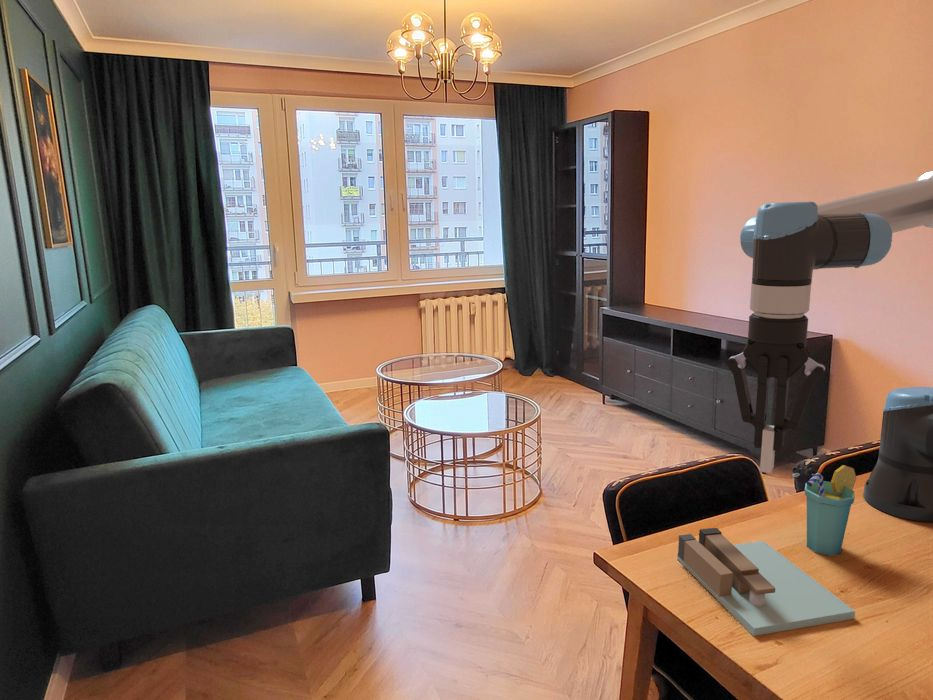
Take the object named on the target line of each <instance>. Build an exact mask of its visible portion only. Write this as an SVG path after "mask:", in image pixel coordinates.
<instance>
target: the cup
mask: <svg viewBox="0 0 933 700" xmlns="http://www.w3.org/2000/svg"><path fill="white" fill-rule="evenodd" d="M856 481H857V475H856V472H855V468H853V467H851V466H847V465H844V464H842V465H841V466H840V467H838V468H837V469H836V470H834V472H833V475H832V478H831V480H830V481H827V480H824V476H823V475H822V474H821V473H820V472H816V473H815V474H814V475H813V476H812V477H810V479H809V480H808V481H806V482H805V484H804V485H805V486H804V495H805V496H806V548H808V549H810V550H811V551H812V552H814V553H815V554H819V555H820V554H821V555H824V556H830V557H831V556H835V555H841V551H842V547H843V544H844V543H843V542H844V539H845V533H846V528H847V525H848V520H849V516H850V511H851V508H852V505H853V504H854V501H855V490H854V486H855V484H856Z"/></svg>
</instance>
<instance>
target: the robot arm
mask: <svg viewBox="0 0 933 700" xmlns="http://www.w3.org/2000/svg"><path fill="white" fill-rule="evenodd" d="M922 226H923V227H926V228H931V229H933V170H931V171H928V172H925V173H924V174H922V175H920V176H919V177H917V178H916V179H915V180H914V181H912V182H908V183H907V182H906V183H904V184H900V185H895V186H890V187H888V188H883V189H882V188H881V189H879V190H875V191H871V192H866V193H862V194H859V195H853V196H849V197H844V198H841V199H837V200H832V201H828V202H824V203H819V204H817V203H816V202H814V201H792V202H791V201H790V202H789V201H788V202H787V201H785V202H766V203H765V202H764V204H762V205H760V206H759V208H758V209H757V213H756V215H755V216H752V217H751V218H749V219H748V220H747V221H746V222H745V223H744V225H743V227H742V229H741V231H740V234H739V235H740V236H739V239H740V241H739V242H740V247H741V249H742V252H743V253H744V254H745V255H746V256H747V257H749V258H751V259H752V272H751V273H752V276H751V284H750V301H749V302H750V303H749V310H751V311H752V312H753V313H751V314H750V315H749V316H748V330H747V331H748V332H747V343H746V345H745V347H744V348H743V350H742V352H741V353H739V354H736V355H731V356H730V357H729V358H728V359H727V360H726V366H727V367H728V368H729V370H730V371H731V373H732V375H733V380H734V386H735V391H736V396H737V399H738V405H739V409H740V416H741V419H742V420H741V421H742V422H744V423H749V424H751V425H752V426H753V427H754V435H753V436H754V437H753V446H754V448H756V449H761V451H760V462H759V463H760V465H759V472H761V473H765V474H772V471H773V469H774V465H775V456H776V455H775V453H776V452H781V451H782V450H783V447H784V444H785V434H786V433H785V431H787V430H796V429H798V427H799V424H800V422H801V419H802V416H803V415H804V411H805V408H806V406H807V403H808V401H809V398H810V395H811V392H812V390H813V388H814V386H815V383H816V382H817V381H818V380H819V379H820V378H821V376H823V374H824V373H825V370H826V366H825V364H824V363H821V362H820V363H819V362H817V361H815V360H814V359H813V358H811V357H810V351H809V349H808V348H807V339H808V338H807V337H808V328H809V327H808V325H809V318H808V317H807V315H805V314H807V313H808V312H809V311H810V303H811V290H812V283H813V273H814V271H815V270H820V269H842V268H844V269H845V268H855V269H858V268H860V267H867V266H872V265H876V264H878V263H880V262H881V261H882V260H883V259H884V258H885V257H886V256H887V255H888V253H889V252H890V249H891V248H892V241H893V234H894V233H898V232H902V231H906V230H910V229H914V228H918V227H922ZM746 360H747V362H748V364H749V365H750V366H751V368H752V369H753V371H754V373H755V374H756V375H757V380H756V381H757V388H756V389H757V391H756V404H755V413H754V410H753V409H754V408H753V403H752V399H751V393H750V388H749V383H748V378H747V375H746V374H747V373H746V370H745V367H746V366H747V362H746ZM803 366H805V369H804V374H805V375H806V378H805V379H804V382H803V384H802V386H801V387H802V388H801V390H800V393H799V395H798V398H797V401H796V402H795V406H794V409H793V411H792V413H791V415H790V417H788V418H787V411H788V410H787V409H788V401H789V400H788V396H789V387H790V378H791V377H793V376H794V375H795V374H796V373H797V372H798V371H799V370H800V368H802V367H803ZM771 378H775V379H776V398H775V411H774V413H775V414H774V425H771V424H766V423H767V421H768V419H767V418H768V404H769V403H768V402H769V393H770V391H769V389H770V381H771V380H770V379H771ZM882 409H883V410H882V412H883V413H882V420H881V421H882V422H881V429H880V438H879V439H880V441H879V451H878V457H877V458H878V459H877V461H876V463H875V465H874V467H873V469H872V471H871V473H870V475H869V476H868V479H866V480H865V483H864V485H863V494H862V495H863V499H864V500H865V501H866V502H867V503H868V504H869V505H871V506H872V507H873V508H875V509H878V510H879V511H882V512H884V513H886V514H889V515H891V516H894V517H898V518H902V519H905V520H906V519H907V520H912V521H918V522H923V523H933V387H931V386H910V387H908V386H906V387H898V388H895V389H891V390H890V391H889V392H888V393H887V394H886V399H885V402H884V407H883V408H882Z"/></svg>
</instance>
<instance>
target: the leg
mask: <svg viewBox="0 0 933 700" xmlns="http://www.w3.org/2000/svg"><path fill="white" fill-rule="evenodd" d="M698 531H699V532H698V542H699V543H700V544H701V545H703V546H704V547H705V548H706V549H707V550H708V551H709V552H710V553H711V554H712V555H714V556H715V557H716V558H717V559H718V560H719V561H720V562H721V563H722V564H724V565H725V566H726V567H727V568H728V569H729V570H730V571H731V572H732V573H733V580H732V586H733V587H734V588H735V589H736V590H737V591H738V592H739V593H742V592H750V588H751V589H752V590H753V591H754V592H755V593H756V594H757V595H758V594H767V593H775V587H774V586H773V585H772V584H771V583H770V582H768V581H767V580H766V579H765V578H764V577H763V576H762V575H761V574H760V573H759V569H758V568H757V567H756V566H755V565H754V564H753V563H752V562H751V561H750V560H749V559H748V558H746V557H745V556H744V555H743V554H742V553H741V552H740V551H739V550H738V549H737V548H736V547H735V546H734V545H735V544H733V543H732V542H731V541H730V540H729V539H728V538H726V536H724V535H723V534H722V531H720V529H719V528H718V527H709V528H700V529H699V530H698Z"/></svg>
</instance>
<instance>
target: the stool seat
mask: <svg viewBox="0 0 933 700" xmlns="http://www.w3.org/2000/svg"><path fill="white" fill-rule="evenodd" d="M733 545H734V546H735V547H736V548H737V549H738V550H739V551H740V552H741V553H742V554H743V555H744V556H745V557H746V558H748V559H749V560H750V561H751V562H752V563H753V564H754V565H755V566H756V567H757V568H758V569H759V573H760V574H761V575H762V576H763V577H764V578H765V579H766V580H767V581H768V582H770V583H771V584H772V585H773V586H774V587H775V593H767V594H758V595H757V594H756V593H755V592H754V591H753V590H752V589H751V588H750V592H742V593H739V592H738V591H737V590H736V589H735V588H734V587H733V586H732V580H733V573H732V572H731V571H730V570H729V569H728V568H727V567H726V566H725V565H724V564H722V563H721V562H720V561H719V560H718V559H717V558H716V557H715V556H714V555H712V554H711V553H710V552H709V551H708V550H707V549H706V548H705V547H704V546H703V545H701V544H700V543H699V540H698V539H696V537H695V536H694V535H693V534H692V533H687V534H681V535H678V546H677V548H678V549H677V550H678V551H677V559H676V560H677V561H679V563H680V564H681V565H682V566H684V567H685V568H686V570H687V571H688V572H689V573H690V574H691V575H692V576H693V577H694V578H696V580H697V581H698V582H699V583H700V584H701V585H702V586H703V587H704V588H705V589H706V590H707V591H708V592H709V593H710V594H712V596H713V597H714V598H715V599H716V600H717V601H718V602H719V603H720V604H721V606H722V607H724V608H725V609H726V610H727V611H728V612H729V613H730V614H731V615H732V617H734V618H735V619H736V620H737V621H738V623H740V624H741V626H743V628H744V629H746V630H747V631H748V632H749V633H750V634H751V636H753V637H757V636H762V635H767V634H775V633H779V632H786V631H792V630H797V629H803V628H808V627H813V626H819V625H826V624H831V623H838V622H842V621H843V622H844V621H849V620H854V619H855V615H856V610H854V609H853V608H852V607H851V606H849V605H848V604H846V602H844V601H842V600H841V598H839V597H838V596H836V595H835V594H834V593H832V592H831V591H829V590H828V589H827V588H826V587H824V586H823V585H822V584H821V583H819V582H818V581H817V580H815V579H814V578H812V577H811V576H810V575H809V574H807V572H804V570H802V569H801V568H799V567H798V566H797V565H796V564H794V563H793V562H791V561H790V560H789V559H788V558H786V556H784V555H783V554H781V553H780V552H778V551H777V550H776V549H775V548H774V547H772V546H771V545H769V544H768V543H766V541H764V540H758V541H757V540H756V541H750V542H745V543H744V542H743V543H737V544H733Z"/></svg>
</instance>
